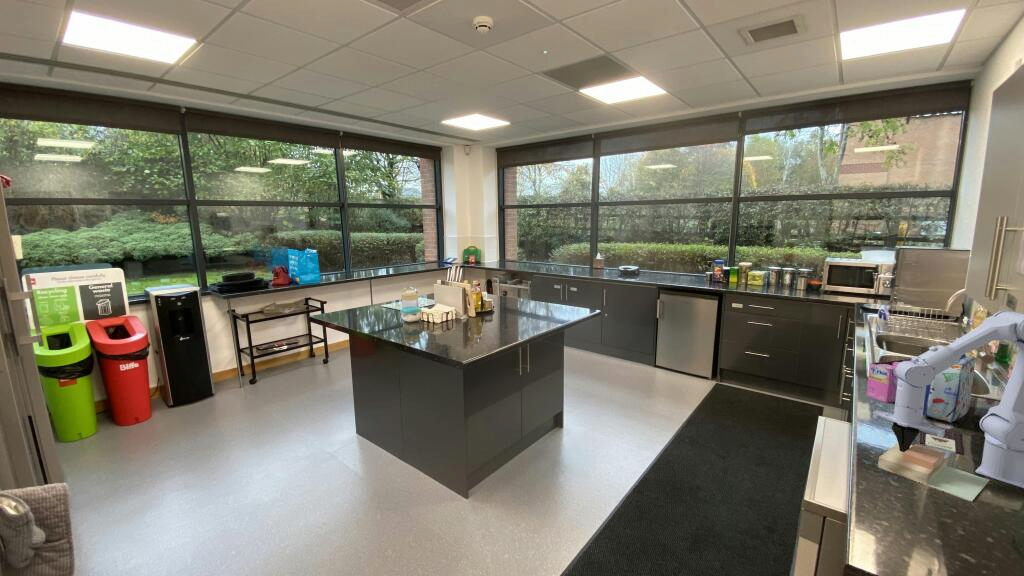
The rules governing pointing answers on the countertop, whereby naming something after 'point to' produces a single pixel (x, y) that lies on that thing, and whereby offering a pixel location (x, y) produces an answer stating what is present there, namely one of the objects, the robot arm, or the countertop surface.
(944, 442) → the chocolate bar
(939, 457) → the tile
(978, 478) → the mat
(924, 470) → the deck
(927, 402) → the lunch box
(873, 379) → the gum box
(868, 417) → the countertop surface
